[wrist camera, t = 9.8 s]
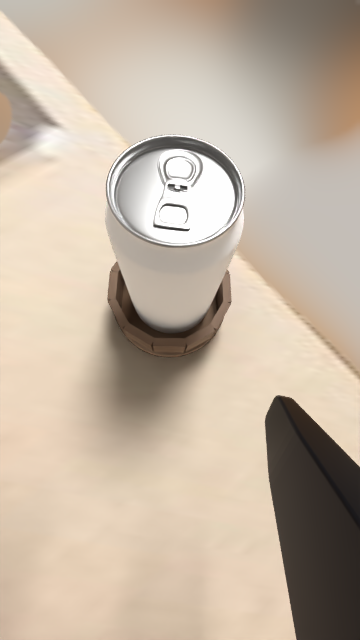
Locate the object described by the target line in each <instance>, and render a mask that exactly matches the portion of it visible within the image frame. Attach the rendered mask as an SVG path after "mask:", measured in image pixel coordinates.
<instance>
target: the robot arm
mask: <svg viewBox="0 0 360 640" xmlns="http://www.w3.org/2000/svg"><path fill="white" fill-rule="evenodd" d="M265 429H266V444H267V460H268V473H269V482H270V488H271V494H272V500H273V506H274V511H275V517H276V523H277V529H278V535H279V541H280V546H281V552H282V558H283V564H284V570H285V575H286V581H287V587H288V593H289V599H290V604H291V610H292V616H293V622H294V628H295V633H296V639H297V640H360V467H359V466H358V465H357V464H356V463H355V462H354V461H353V460H352V459H351V458H350V457H349V456H348V455H347V454H346V453H345V452H344V450H343V449H342V448H341V447H340V446H339V445H338V444H337V443H336V442H335V441H334V440H333V439H332V438H331V437H330V436H329V435H328V434H327V433H326V432H325V431H324V430H323V429H322V428H321V427H320V426H319V425H318V424H317V423H316V422H315V421H314V420H313V419H312V418H311V417H310V416H309V415H308V414H307V413H306V412H305V411H304V410H303V409H302V408H301V407H300V406H299V405H298V404H297V403H296V402H295V401H294V400H293V399H292V398H290V397H285V396H280V395H278V396H276V397H275V398H274V400H273V402H272V404H271V406H270V408H269V410H268V412H267V415H266V418H265Z"/></svg>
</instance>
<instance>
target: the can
mask: <svg viewBox="0 0 360 640" xmlns="http://www.w3.org/2000/svg"><path fill="white" fill-rule="evenodd" d="M106 197H107V203H106V208H105V222H106V228H107V232H108V236H109V239H110V242H111V245H112V248H113V251H114V253H115V256H116V259H117V262H118V264H119V267H120V270H121V273H122V275H123V278H124V281H125V284H126V286H127V289H128V292H129V294H130V297H131V300H132V302H133V305H134V307H135V310H136V312H137V314H138V315H139V317H140V318H141V320H142V321H143V322H144V323H145V324H147V325H148V326H149V327H151V328H152V329H154V330H157V331H160V332H163V333H181V332H184V331H187V330H189V329H191V328H193V327H195V326H196V325H197V324H198V323H200V322H201V320H202V319H203V318H204V317H205V315H206V313H207V311H208V309H209V307H210V305H211V303H212V301H213V299H214V297H215V295H216V292H217V290H218V288H219V286H220V284H221V281H222V279H223V277H224V275H225V273H226V270H227V268H228V266H229V264H230V262H231V259H232V257H233V255H234V252H235V250H236V248H237V245H238V243H239V240H240V237H241V234H242V230H243V224H244V212H243V205H244V200H245V186H244V181H243V178H242V176H241V173H240V171H239V169H238V168H237V166H236V164H235V163H234V162H233V161H232V159H231V158H230V157H229V156H228V155H227V154H226V153H224V152H223V151H222V150H220V149H219V148H217V147H216V146H214V145H212V144H211V143H208V142H206V141H204V140H201V139H198V138H194V137H190V136H184V135H161V136H155V137H151V138H148V139H145V140H142V141H140V142H138V143H136V144H134V145H132V146H131V147H129V148H128V149H126V150H125V151H124V152H123V153H122V154H121V155H120V156H119V157H118V158H117V159H116V161H115V162H114V163H113V165H112V167H111V169H110V171H109V174H108V177H107V181H106Z"/></svg>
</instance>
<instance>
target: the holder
mask: <svg viewBox="0 0 360 640" xmlns="http://www.w3.org/2000/svg"><path fill="white" fill-rule="evenodd" d="M107 299H108V303H109V305H110V306H111V308H112V310H113V312H114V315H115V318H116V321H117V323H118V325H119V327H120V328H121V330H122V332H123V333H124V335H125V336H126V337H127V338H128V339H129V340H130V341H131V342H132V343H133V344H134V345H135V346H137V347H138V348H140V349H141V350H143V351H145V352H147V353H150V354H153V355H157V356H161V357H178V356H183V355H186V354H189V353H192V352H194V351H196V350H198V349H200V348H201V347H203V346H204V345H205V344H206V343H208V342H209V341H210V340H211V338H212V337H213V336H214V335H215V333H216V332H217V330H218V329H219V327H220V325H221V323H222V321H223V318H224V315H225V314H226V312H227V310H228V308H229V307H230V305H231V304H230V303H231V286H230V274H229V271H228V270H226V273H225V275H224V277H223V279H222V281H221V284H220V286H219V288H218V290H217V292H216V295H215V297H214V299H213V301H212V303H211V305H210V307H209V309H208V311H207V313H206V315H205V317H204V318H203V319H202V320H201V322H200V323H198V324H197V325H196V326H195V327H193V328H191V329H189V330H187V331H184V332H181V333H163V332H160V331H157V330H154V329H152V328H151V327H149V326H148V325H147V324H145V323H144V322H143V321H142V320H141V318H140V317H139V315H138V314H137V312H136V310H135V307H134V305H133V302H132V300H131V297H130V294H129V292H128V289H127V286H126V284H125V281H124V278H123V275H122V273H121V270H120V267H119V264H118V262H116V263H115V264H114V266H113V267H112V268H111V271H110V277H109V288H108V298H107Z"/></svg>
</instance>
